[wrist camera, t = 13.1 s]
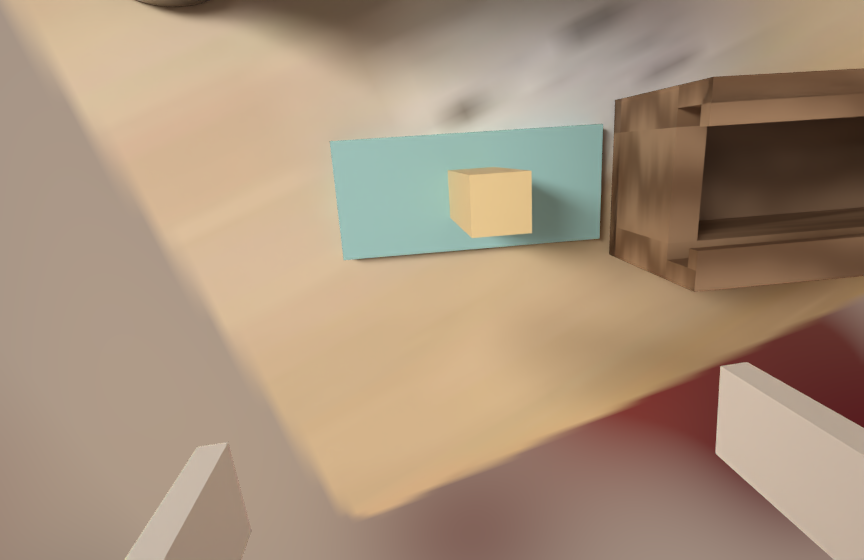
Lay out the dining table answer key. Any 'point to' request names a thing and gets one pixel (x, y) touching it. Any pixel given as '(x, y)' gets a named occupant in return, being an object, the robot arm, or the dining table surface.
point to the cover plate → (418, 188)
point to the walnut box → (742, 180)
